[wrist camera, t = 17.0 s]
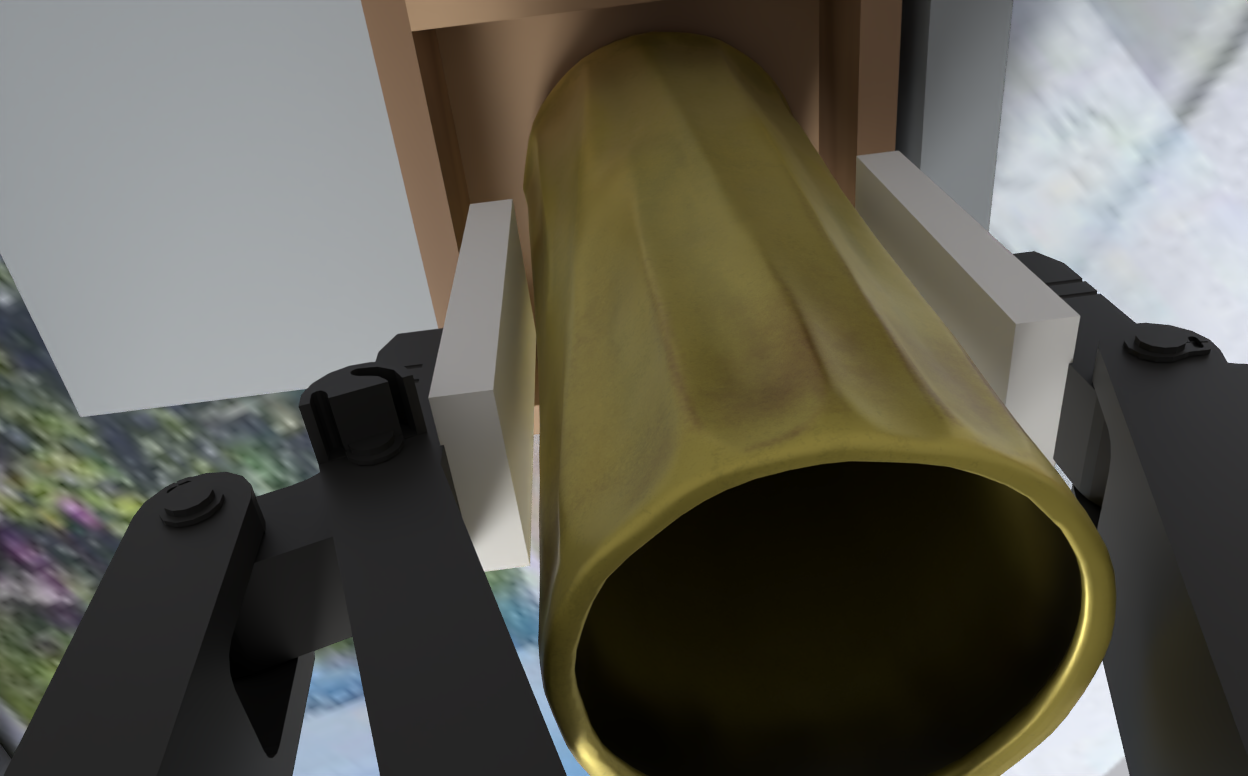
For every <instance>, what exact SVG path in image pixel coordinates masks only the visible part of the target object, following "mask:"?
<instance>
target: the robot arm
mask: <svg viewBox="0 0 1248 776" xmlns="http://www.w3.org/2000/svg"><path fill="white" fill-rule="evenodd" d="M855 209H856V210H857V212H858V213H859V215H860V216H861V217H862V219H863V220H864V221H865V223H866V224H867V225H868V227H869V228H870V230H871V231H872V232H873V234H874V235H875V237H876V238H877V239H878V241H879V242H880V243H881V245H882V246H883V247H884V248H885V250H886V251H887V252H888V253H889V255H890V256H891V257H892V258H893V260H894V261H895V262H896V263H897V265H898V266H899V267H900V268H901V270H902V271H903V272H904V274H905V275H906V276H907V277H908V279H909V280H910V281H911V282H912V284H913V285H914V286H915V287H916V289H917V290H918V291H919V293H920V294H921V295H922V297H923V298H924V299H925V300H926V302H927V303H928V304H929V305H930V307H931V308H932V309H933V310H934V311H935V313H936V314H937V315H938V316H939V318H940V319H941V320H942V321H943V323H944V324H945V325H946V326H947V327H948V329H949V330H950V331H951V332H952V334H953V335H954V336H955V338H956V339H957V340H958V342H959V343H960V344H961V346H962V347H963V348H964V350H965V351H966V353H967V354H968V355H969V357H970V358H971V360H972V361H973V362H974V364H975V365H976V367H977V368H978V369H979V371H980V372H981V373H982V375H983V376H984V378H985V379H986V380H987V382H988V383H989V384H990V386H991V387H992V389H993V390H994V391H995V393H996V394H997V395H998V397H999V398H1000V399H1001V401H1002V402H1003V403H1004V405H1005V406H1006V407H1007V409H1008V410H1009V411H1010V413H1011V414H1012V415H1013V417H1014V418H1015V419H1016V421H1017V422H1018V423H1019V424H1020V426H1021V427H1022V428H1023V430H1024V431H1025V432H1026V433H1027V435H1028V436H1029V437H1030V438H1031V440H1032V441H1033V442H1034V443H1035V444H1036V446H1037V447H1038V448H1039V449H1040V451H1041V452H1042V453H1043V454H1044V455H1045V457H1046V458H1047V459H1048V461H1049V462H1050V463H1051V464H1052V466H1053V467H1054V468H1055V463H1057V464H1058V466H1059V467H1060V468H1061V469H1062V471H1063V472H1064V473H1065V474H1066V476H1067V477H1068V478H1069V479H1070V481H1071V482H1072V483H1073V484H1072V490H1071V491H1072V493H1073V494H1074V496H1075V497H1076V499H1077V500H1078V501H1079V503H1080V504H1081V505H1082V507H1083V508H1084V509H1085V511H1086V512H1087V514H1088V516H1089V517H1090V519H1091V521H1092V522H1093V524H1094V526H1095V527H1096V529H1097V531H1098V532H1099V534H1100V536H1101V538H1102V540H1103V541H1104V543H1105V545H1106V547H1107V550H1108V552H1109V555H1110V559H1111V562H1112V565H1113V569H1114V572H1115V583H1116V614H1115V622H1114V627H1113V633H1112V638H1111V641H1110V644H1109V646H1108V649H1107V651H1106V654H1105V657H1104V658H1103V665H1104V669H1105V673H1106V677H1107V682H1108V686H1109V690H1110V694H1111V698H1112V703H1113V707H1114V711H1115V715H1116V720H1117V724H1118V728H1119V732H1120V736H1121V741H1122V745H1123V749H1124V753H1125V757H1126V762H1127V766H1128V770H1129V774H1130V776H1248V364H1235V363H1228V362H1227V361H1226V359H1225V357H1224V356H1223V354H1222V352H1221V350H1220V349H1219V348H1218V347H1217V346H1216V345H1215V344H1214V343H1213V342H1212V341H1211V340H1209V339H1207V338H1205V337H1203V336H1201V335H1199V334H1197V333H1195V332H1193V331H1190V330H1186V329H1182V328H1178V327H1175V326H1171V325H1162V324H1152V323H1138V324H1136V323H1135V322H1134V321H1132V320H1131V319H1130V318H1129V317H1128V316H1126V315H1125V314H1124V313H1123V312H1122V311H1121V310H1119V309H1118V308H1117V307H1116V306H1115V305H1113V304H1112V303H1111V302H1110V301H1109V300H1107V299H1106V298H1105V297H1104V296H1103V295H1101V294H1097V290H1095V289H1094V288H1093V287H1092V286H1091V285H1089V284H1088V283H1087V282H1086V281H1085V282H1082V278H1081V277H1080V276H1079V275H1077V274H1076V273H1075V272H1074V271H1073V270H1072V269H1070V268H1069V267H1068V266H1067V265H1066V264H1064V263H1062V262H1060V261H1057V260H1055V259H1052V258H1050V257H1047V256H1045V255H1042V254H1040V253H1037V252H1035V251H1033V252H1025V253H1017V254H1012V253H1011V252H1010V251H1009V250H1007V249H1006V248H1005V247H1004V246H1003V245H1002V244H1001V243H1000V242H999V241H998V240H997V239H995V238H994V237H993V236H992V235H991V234H990V233H989V232H988V231H987V230H986V229H984V228H983V227H982V226H981V225H980V224H979V223H978V222H977V221H976V220H975V219H973V218H972V217H971V216H970V215H969V214H968V213H967V212H966V211H965V210H964V209H962V208H961V207H960V206H959V205H958V204H957V203H956V202H955V201H954V200H953V199H951V198H950V197H949V196H948V195H947V194H946V193H945V192H944V191H943V190H942V189H940V188H939V187H938V186H937V185H936V184H935V183H934V182H933V181H932V180H931V179H929V178H928V177H927V176H926V175H925V174H924V173H923V172H922V171H921V170H920V169H918V168H917V167H916V166H915V165H914V164H913V163H912V162H911V161H910V160H909V159H907V158H906V157H905V156H904V155H903V154H902V153H901V152H900V151H891V152H883V153H875V154H867V155H859V156H856V189H855ZM535 361H536V330H535V325H534V319H533V313H532V307H531V302H530V296H529V290H528V284H527V279H526V273H525V267H524V262H523V256H522V250H521V244H520V239H519V233H518V227H517V222H516V216H515V210H514V204H513V199H507V200H499V201H491V202H483V203H475V204H470V206H469V211H468V216H467V220H466V225H465V230H464V234H463V239H462V244H461V248H460V253H459V258H458V262H457V267H456V272H455V276H454V281H453V285H452V290H451V295H450V299H449V304H448V309H447V313H446V318H445V323H444V327H443V328H439V329H431V330H423V331H415V332H407V333H400V334H397V335H396V336H395V337H393V338H392V339H391V340H390V341H389V342H388V343H387V344H386V345H385V346H384V347H383V348H382V349H381V350H380V351H379V352H378V355H377V358H376V361H375V362H367V363H362V364H356V365H351V366H347V367H344V368H342V369H339V370H336V371H333V372H331V373H328V374H327V375H325V376H323V377H322V378H320V379H318V380H317V381H315V382H313V383H312V384H311V385H310V386H309V387H308V388H307V389H306V390H305V391H304V393H303V394H302V395H301V399H300V403H299V408H300V411H301V414H302V417H303V420H304V423H305V426H306V429H307V432H308V435H309V438H310V441H311V444H312V447H313V449H314V452H315V455H316V458H317V461H318V464H319V469H320V473H318V474H316V475H315V476H313V477H311V478H309V479H307V480H304V481H302V482H299V483H297V484H294V485H292V486H289V487H286V488H282V489H279V490H276V491H273V492H270V493H267V494H264V495H261V496H257V497H256V496H255V493H254V491H253V488H252V486H251V484H250V483H249V482H248V481H247V480H246V479H245V478H244V477H243V476H240V475H236V474H232V473H229V472H220V473H205V474H202V475H198V476H194V477H187V478H185V479H182V480H179V481H177V483H173V484H171V485H169V486H167V487H165V488H164V489H162V490H161V491H160V492H158V493H157V494H155V495H154V496H153V497H151V498H150V499H149V500H147V501H146V502H145V503H144V504H143V505H142V506H141V508H140V509H139V510H138V511H137V513H136V514H135V515H134V517H133V518H132V520H131V522H130V524H129V526H128V528H127V530H126V532H125V534H124V536H123V538H122V540H121V542H120V544H119V546H118V548H117V550H116V552H115V554H114V556H113V558H112V560H111V562H110V564H109V566H108V568H107V570H106V572H105V574H104V576H103V578H102V580H101V582H100V584H99V586H98V588H97V590H96V592H95V594H94V596H93V598H92V600H91V602H90V604H89V606H88V608H87V610H86V612H85V614H84V616H83V618H82V620H81V622H80V624H79V626H78V628H77V630H76V632H75V634H74V636H73V638H72V640H71V642H70V644H69V646H68V648H67V650H66V652H65V654H64V656H63V658H62V660H61V662H60V664H59V666H58V668H57V670H56V672H55V674H54V676H53V678H52V680H51V682H50V684H49V686H48V688H47V690H46V692H45V694H44V696H43V698H42V700H41V702H40V704H39V706H38V708H37V710H36V712H35V714H34V716H33V718H32V720H31V722H30V724H29V726H28V728H27V730H26V732H25V734H24V736H23V738H22V740H21V742H20V744H19V746H18V748H17V750H16V751H15V753H14V755H13V757H12V759H11V758H10V756H9V755H8V754H7V752H6V751H5V750H4V748H3V747H2V746H1V745H0V776H292V775H293V770H294V765H295V760H296V754H297V749H298V744H299V739H300V734H301V728H302V723H303V718H304V713H305V708H306V702H307V697H308V692H309V687H310V682H311V676H312V671H313V666H314V661H315V652H314V651H315V650H318V649H320V648H323V647H326V646H328V645H331V644H334V643H336V642H339V641H342V640H344V639H347V638H350V637H352V636H353V641H354V646H355V651H356V656H357V661H358V666H359V671H360V676H361V681H362V686H363V691H364V696H365V701H366V706H367V711H368V716H369V722H370V727H371V732H372V737H373V742H374V747H375V752H376V757H377V762H378V767H379V772H380V776H567V775H566V773H565V770H564V768H563V765H562V763H561V760H560V758H559V755H558V753H557V750H556V748H555V745H554V743H553V741H552V738H551V736H550V733H549V731H548V728H547V726H546V723H545V721H544V718H543V716H542V713H541V711H540V708H539V706H538V703H537V701H536V699H535V696H534V694H533V691H532V689H531V686H530V684H529V681H528V679H527V676H526V674H525V671H524V669H523V666H522V664H521V662H520V659H519V657H518V654H517V652H516V649H515V647H514V644H513V642H512V639H511V637H510V634H509V632H508V629H507V627H506V625H505V622H504V620H503V617H502V615H501V612H500V610H499V607H498V605H497V602H496V600H495V597H494V595H493V592H492V590H491V587H490V585H489V583H488V580H487V578H486V575H485V573H484V572H485V571H493V570H501V569H509V568H517V567H525V566H530V546H531V509H532V472H533V435H534V398H535Z"/></svg>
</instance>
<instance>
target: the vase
mask: <svg viewBox="0 0 1248 776" xmlns="http://www.w3.org/2000/svg"><path fill="white" fill-rule="evenodd" d="M523 191H524V194H525V198H526V202H527V205H528V218H529V237H530V250H531V264H532V276H533V289H534V307H535V324H536V339H537V358H538V383H539V417H540V447H539V465H540V502H539V539H540V602H539V636H538V644H539V658H540V667H541V675H542V682H543V688H544V692H545V695H546V698H547V700H548V703H549V706H550V708H551V711H552V713H553V716H554V718H555V721H556V723H557V725H558V727H559V730H560V732H561V734H562V736H563V739H564V741H565V743H566V745H567V747H568V748H569V750H570V751H571V753H572V754H573V756H574V757H575V759H576V760H577V762H578V763H579V764H580V765H581V766H582V767H583V768H584V769H585V770H586V772H587V773H588V774H589V775H590V776H1000V775H1002V774H1003V773H1004V772H1005V771H1007V770H1008V769H1009V768H1011V767H1012V766H1013V765H1015V764H1016V763H1017V762H1019V761H1020V760H1021V759H1022V758H1024V757H1025V756H1026V755H1027V754H1028V753H1030V752H1031V751H1032V750H1033V749H1034V748H1036V747H1037V746H1038V745H1039V744H1040V743H1041V742H1043V741H1044V740H1045V739H1046V738H1047V737H1048V736H1049V735H1050V734H1052V733H1053V731H1054V730H1055V729H1056V728H1057V727H1058V726H1059V725H1060V723H1061V722H1062V721H1063V720H1064V719H1065V718H1066V717H1067V715H1068V714H1069V713H1070V711H1071V710H1072V708H1073V707H1074V706H1075V704H1076V703H1077V701H1078V700H1079V699H1080V697H1081V696H1082V695H1083V693H1084V692H1085V690H1086V688H1087V687H1088V685H1089V683H1090V682H1091V680H1092V678H1093V677H1094V675H1095V673H1096V671H1097V670H1098V668H1099V666H1100V664H1101V662H1102V660H1103V658H1104V657H1105V654H1106V651H1107V649H1108V646H1109V644H1110V641H1111V638H1112V633H1113V627H1114V622H1115V614H1116V583H1115V572H1114V569H1113V565H1112V562H1111V559H1110V555H1109V552H1108V550H1107V547H1106V545H1105V543H1104V541H1103V540H1102V538H1101V536H1100V534H1099V532H1098V531H1097V529H1096V527H1095V526H1094V524H1093V522H1092V521H1091V519H1090V517H1089V516H1088V514H1087V512H1086V511H1085V509H1084V508H1083V507H1082V505H1081V504H1080V503H1079V501H1078V500H1077V499H1076V497H1075V496H1074V494H1073V493H1072V491H1071V490H1070V488H1069V487H1068V486H1067V484H1066V483H1065V481H1064V480H1063V479H1062V477H1061V476H1060V475H1059V473H1058V472H1057V471H1056V469H1055V468H1054V467H1053V466H1052V464H1051V463H1050V462H1049V461H1048V459H1047V458H1046V457H1045V455H1044V454H1043V453H1042V452H1041V451H1040V449H1039V448H1038V447H1037V446H1036V444H1035V443H1034V442H1033V441H1032V440H1031V438H1030V437H1029V436H1028V435H1027V433H1026V432H1025V431H1024V430H1023V428H1022V427H1021V426H1020V424H1019V423H1018V422H1017V421H1016V419H1015V418H1014V417H1013V415H1012V414H1011V413H1010V411H1009V410H1008V409H1007V407H1006V406H1005V405H1004V403H1003V402H1002V401H1001V399H1000V398H999V397H998V395H997V394H996V393H995V391H994V390H993V389H992V387H991V386H990V384H989V383H988V382H987V380H986V379H985V378H984V376H983V375H982V373H981V372H980V371H979V369H978V368H977V367H976V365H975V364H974V362H973V361H972V360H971V358H970V357H969V355H968V354H967V353H966V351H965V350H964V348H963V347H962V346H961V344H960V343H959V342H958V340H957V339H956V338H955V336H954V335H953V334H952V332H951V331H950V330H949V329H948V327H947V326H946V325H945V324H944V323H943V321H942V320H941V319H940V318H939V316H938V315H937V314H936V313H935V311H934V310H933V309H932V308H931V307H930V305H929V304H928V303H927V302H926V300H925V299H924V298H923V297H922V295H921V294H920V293H919V291H918V290H917V289H916V287H915V286H914V285H913V284H912V282H911V281H910V280H909V279H908V277H907V276H906V275H905V274H904V272H903V271H902V270H901V268H900V267H899V266H898V265H897V263H896V262H895V261H894V260H893V258H892V257H891V256H890V255H889V253H888V252H887V251H886V250H885V248H884V247H883V246H882V245H881V243H880V242H879V241H878V239H877V238H876V237H875V235H874V234H873V232H872V231H871V230H870V228H869V227H868V225H867V224H866V223H865V221H864V220H863V219H862V217H861V216H860V215H859V213H858V212H857V210H856V209H855V208H854V206H853V205H852V204H851V202H850V201H849V200H848V198H847V197H846V196H845V194H844V193H843V192H842V190H841V188H840V186H839V185H838V183H837V181H836V180H835V178H834V177H833V175H832V174H831V172H830V171H829V169H828V168H827V166H826V164H825V162H824V161H823V159H822V158H821V156H820V155H819V153H818V152H817V151H816V149H815V148H814V146H813V145H812V143H811V142H810V140H809V138H808V136H807V135H806V133H805V132H804V130H803V129H802V127H801V126H800V125H799V123H798V122H797V121H796V120H795V118H794V117H793V115H792V113H791V110H790V108H789V106H788V104H787V101H786V99H785V97H784V95H783V94H782V92H781V91H780V89H779V87H778V86H777V84H776V83H775V82H774V81H773V80H772V78H771V77H770V76H769V75H768V74H767V73H766V72H765V71H764V70H763V69H762V67H761V66H760V65H758V64H757V63H756V62H755V61H753V60H752V59H751V58H749V57H748V56H747V55H745V54H744V53H742V52H740V51H739V50H737V49H735V48H734V47H732V46H730V45H728V44H726V43H725V42H723V41H721V40H719V39H715V38H712V37H709V36H705V35H699V34H692V33H683V32H647V33H642V34H637V35H632V36H629V37H626V38H623V39H620V40H617V41H614V42H612V43H610V44H608V45H606V46H604V47H601V48H599V49H597V50H595V51H594V52H592V53H591V54H589V55H587V56H586V57H584V58H583V59H581V60H580V61H579V62H578V63H577V64H575V65H574V66H573V67H572V68H571V69H570V70H569V71H568V72H567V73H566V74H565V75H564V76H563V77H562V78H561V80H560V81H559V82H558V83H557V84H556V86H555V87H554V88H553V89H552V91H551V92H550V94H549V95H548V96H547V98H546V99H545V101H544V102H543V104H542V105H541V107H540V109H539V111H538V113H537V115H536V118H535V120H534V122H533V125H532V129H531V132H530V136H529V141H528V148H527V155H526V162H525V170H524V182H523Z"/></svg>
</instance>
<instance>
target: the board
mask: <svg viewBox="0 0 1248 776" xmlns="http://www.w3.org/2000/svg"><path fill="white" fill-rule="evenodd" d="M1012 6H1013V0H902V17H901V38H900V59H899V80H898V101H897V122H896V143H895V151H900V152H901V153H902V154H903V155H904V156H905V157H906V158H907V159H909V160H910V161H911V162H912V163H913V164H914V165H915V166H916V167H917V168H918V169H920V170H921V171H922V172H923V173H924V174H925V175H926V176H927V177H928V178H929V179H931V180H932V181H933V182H934V183H935V184H936V185H937V186H938V187H939V188H940V189H942V190H943V191H944V192H945V193H946V194H947V195H948V196H949V197H950V198H951V199H953V200H954V201H955V202H956V203H957V204H958V205H959V206H960V207H961V208H962V209H964V210H965V211H966V212H967V213H968V214H969V215H970V216H971V217H972V218H973V219H975V220H976V221H977V222H978V223H979V224H980V225H981V226H982V227H983V228H984V229H986V230H987V231H988V232H989V224H990V214H991V205H992V195H993V186H994V176H995V167H996V157H997V148H998V138H999V129H1000V120H1001V110H1002V101H1003V91H1004V82H1005V72H1006V63H1007V53H1008V44H1009V34H1010V25H1011V16H1012ZM0 254H1V256H2V258H3V260H4V262H5V264H6V266H7V268H8V270H9V272H10V274H11V276H12V278H13V280H14V282H15V284H16V286H17V288H18V290H19V292H20V294H21V296H22V298H23V300H24V303H25V305H26V307H27V309H28V311H29V313H30V315H31V317H32V319H33V321H34V323H35V325H36V327H37V329H38V331H39V333H40V335H41V337H42V339H43V341H44V343H45V345H46V347H47V349H48V352H49V354H50V356H51V358H52V360H53V362H54V364H55V366H56V368H57V370H58V372H59V374H60V376H61V378H62V380H63V382H64V384H65V386H66V388H67V390H68V392H69V394H70V396H71V398H72V401H73V403H74V405H75V407H76V409H77V411H78V413H79V415H80V417H85V416H93V415H101V414H109V413H117V412H125V411H133V410H141V409H149V408H157V407H165V406H173V405H181V404H189V403H197V402H205V401H213V400H221V399H229V398H237V397H245V396H253V395H261V394H269V393H277V392H285V391H293V390H301V389H307V388H308V387H309V386H310V385H311V384H312V383H313V382H315V381H317V380H318V379H320V378H322V377H323V376H325V375H327V374H328V373H331V372H333V371H336V370H339V369H342V368H344V367H347V366H351V365H356V364H362V363H367V362H375V361H376V358H377V355H378V352H379V351H380V350H381V349H382V348H383V347H384V346H385V345H386V344H387V343H388V342H389V341H390V340H391V339H392V338H393V337H395V336H396V335H397V334H400V333H407V332H415V331H423V330H431V329H438V326H437V322H436V317H435V313H434V309H433V305H432V300H431V296H430V292H429V288H428V283H427V279H426V275H425V271H424V266H423V262H422V258H421V254H420V250H419V245H418V241H417V237H416V233H415V228H414V224H413V220H412V216H411V211H410V207H409V203H408V199H407V194H406V190H405V186H404V182H403V178H402V173H401V169H400V165H399V161H398V156H397V152H396V148H395V144H394V139H393V135H392V131H391V127H390V122H389V118H388V114H387V110H386V106H385V101H384V97H383V93H382V89H381V84H380V80H379V76H378V72H377V67H376V63H375V59H374V55H373V50H372V46H371V42H370V38H369V34H368V29H367V25H366V21H365V17H364V12H363V8H362V4H361V0H0Z"/></svg>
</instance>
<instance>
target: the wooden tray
mask: <svg viewBox="0 0 1248 776" xmlns="http://www.w3.org/2000/svg"><path fill="white" fill-rule="evenodd" d="M361 4H362V8H363V12H364V17H365V21H366V25H367V29H368V34H369V38H370V42H371V46H372V50H373V55H374V59H375V63H376V67H377V72H378V76H379V80H380V84H381V89H382V93H383V97H384V101H385V106H386V110H387V114H388V118H389V122H390V127H391V131H392V135H393V139H394V144H395V148H396V152H397V156H398V161H399V165H400V169H401V173H402V178H403V182H404V186H405V190H406V194H407V199H408V203H409V207H410V211H411V216H412V220H413V224H414V228H415V233H416V237H417V241H418V245H419V250H420V254H421V258H422V262H423V266H424V271H425V275H426V279H427V283H428V288H429V292H430V296H431V300H432V305H433V309H434V313H435V317H436V322H437V326H438V329H439V328H443V327H444V323H445V318H446V313H447V309H448V304H449V299H450V295H451V290H452V285H453V281H454V276H455V272H456V267H457V262H458V258H459V253H460V248H461V244H462V239H463V234H464V230H465V225H466V220H467V216H468V211H469V206H470V204H475V203H483V202H491V201H499V200H507V199H513V204H514V210H515V216H516V222H517V227H518V233H519V239H520V244H521V250H522V256H523V262H524V267H525V273H526V279H527V284H528V290H529V296H530V302H531V307H532V313H533V319H534V325H535V330H536V324H535V307H534V289H533V276H532V264H531V250H530V237H529V218H528V205H527V202H526V198H525V194H524V191H523V182H524V170H525V162H526V155H527V148H528V141H529V136H530V132H531V129H532V125H533V122H534V120H535V118H536V115H537V113H538V111H539V109H540V107H541V105H542V104H543V102H544V101H545V99H546V98H547V96H548V95H549V94H550V92H551V91H552V89H553V88H554V87H555V86H556V84H557V83H558V82H559V81H560V80H561V78H562V77H563V76H564V75H565V74H566V73H567V72H568V71H569V70H570V69H571V68H572V67H573V66H574V65H575V64H577V63H578V62H579V61H580V60H581V59H583V58H584V57H586V56H587V55H589V54H591V53H592V52H594V51H595V50H597V49H599V48H601V47H604V46H606V45H608V44H610V43H612V42H614V41H617V40H620V39H623V38H626V37H629V36H632V35H637V34H642V33H647V32H683V33H692V34H699V35H705V36H709V37H712V38H715V39H719V40H721V41H723V42H725V43H726V44H728V45H730V46H732V47H734V48H735V49H737V50H739V51H740V52H742V53H744V54H745V55H747V56H748V57H749V58H751V59H752V60H753V61H755V62H756V63H757V64H758V65H760V66H761V67H762V69H763V70H764V71H765V72H766V73H767V74H768V75H769V76H770V77H771V78H772V80H773V81H774V82H775V83H776V84H777V86H778V87H779V89H780V91H781V92H782V94H783V95H784V97H785V99H786V101H787V104H788V106H789V108H790V110H791V113H792V115H793V117H794V118H795V120H796V121H797V122H798V123H799V125H800V126H801V127H802V129H803V130H804V132H805V133H806V135H807V136H808V138H809V140H810V142H811V143H812V145H813V146H814V148H815V149H816V151H817V152H818V153H819V155H820V156H821V158H822V159H823V161H824V162H825V164H826V166H827V168H828V169H829V171H830V172H831V174H832V175H833V177H834V178H835V180H836V181H837V183H838V185H839V186H840V188H841V190H842V192H843V193H844V194H845V196H846V197H847V198H848V200H849V201H850V202H851V204H852V205H853V206H854V208H855V189H856V156H859V155H867V154H875V153H883V152H891V151H895V143H896V122H897V101H898V80H899V59H900V38H901V17H902V0H361ZM534 434H540V417H539V383H538V358H537V339H536V361H535V398H534Z"/></svg>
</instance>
